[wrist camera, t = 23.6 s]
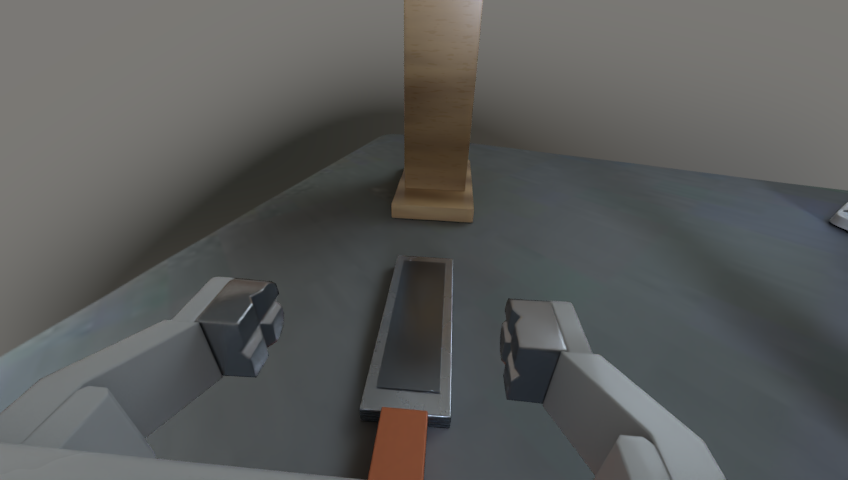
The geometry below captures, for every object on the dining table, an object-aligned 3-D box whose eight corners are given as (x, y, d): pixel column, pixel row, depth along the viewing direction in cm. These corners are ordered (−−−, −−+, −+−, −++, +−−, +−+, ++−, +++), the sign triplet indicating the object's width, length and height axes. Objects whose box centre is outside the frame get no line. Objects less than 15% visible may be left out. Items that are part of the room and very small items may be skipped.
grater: (443, 792, 9) (447, 791, 8) (277, 767, 9) (266, 764, 9) (452, 268, 28) (453, 254, 27) (397, 265, 28) (397, 250, 28)
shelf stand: (472, 222, 34) (516, -165, 21) (391, 218, 35) (381, -165, 21) (468, 170, 46) (495, -98, 32) (408, 167, 47) (408, -99, 33)
